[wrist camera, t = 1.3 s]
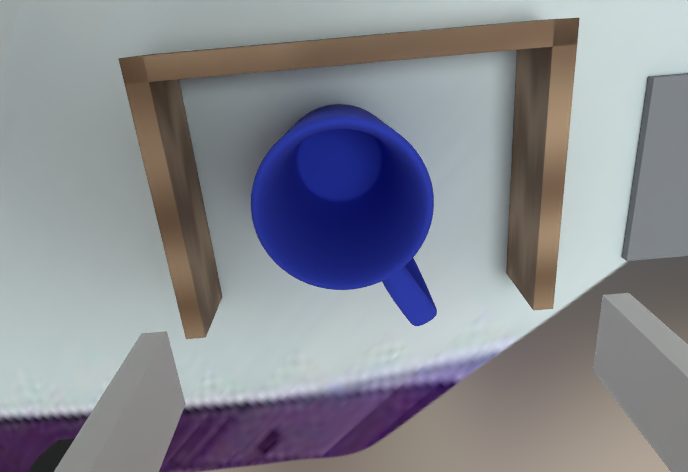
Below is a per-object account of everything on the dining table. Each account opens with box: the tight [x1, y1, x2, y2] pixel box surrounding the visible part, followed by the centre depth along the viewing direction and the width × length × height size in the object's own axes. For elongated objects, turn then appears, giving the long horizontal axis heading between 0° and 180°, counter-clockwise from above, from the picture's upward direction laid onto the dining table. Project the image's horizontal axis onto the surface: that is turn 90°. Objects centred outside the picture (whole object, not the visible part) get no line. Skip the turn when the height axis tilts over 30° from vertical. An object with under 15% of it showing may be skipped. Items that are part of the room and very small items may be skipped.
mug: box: [251, 104, 437, 326], centre depth 27 cm, size 8×12×10 cm
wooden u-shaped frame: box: [119, 18, 579, 339], centre depth 29 cm, size 16×22×5 cm
